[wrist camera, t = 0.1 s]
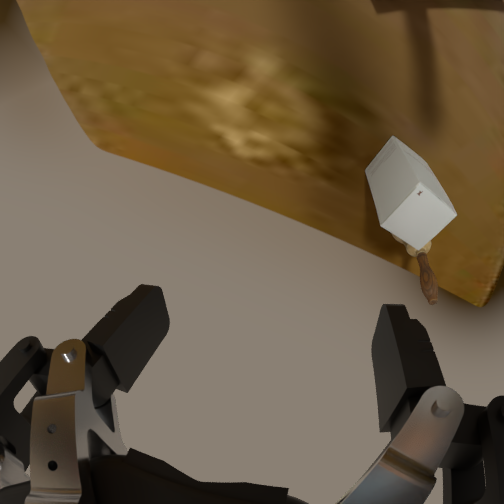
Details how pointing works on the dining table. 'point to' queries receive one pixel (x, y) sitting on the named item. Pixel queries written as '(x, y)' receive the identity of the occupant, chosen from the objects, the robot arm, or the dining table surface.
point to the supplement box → (408, 195)
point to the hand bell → (424, 270)
